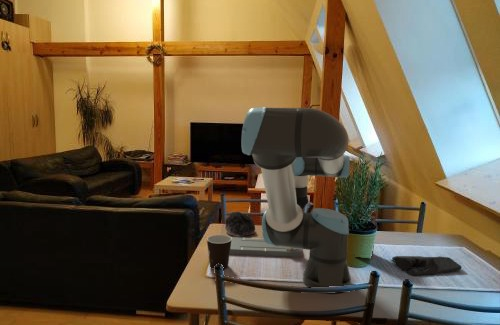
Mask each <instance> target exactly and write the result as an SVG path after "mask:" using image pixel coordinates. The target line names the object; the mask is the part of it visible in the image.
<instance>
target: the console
mask: <svg viewBox="0 0 500 325" xmlns="http://www.w3.org/2000/svg"><path fill="white" fill-rule="evenodd" d="M231 238H232V240H231V248H230V255H238V256H239V255H240V256H241V255H243V256H266V257H267V256H268V257H289V258H290V257H292V258H303V249H299V248H291V250H286V247H282V246H274V245H270V244H268V243H266V242H265V240H264V238H256V237H246V236H243V237H235V236H233V237H231Z"/></svg>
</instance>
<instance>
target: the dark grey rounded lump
mask: <svg viewBox="0 0 500 325" xmlns="http://www.w3.org/2000/svg"><path fill="white" fill-rule="evenodd" d="M225 230H226V233H227V235H228V236H229V235H230V236H233V237H236V238H243V237H246V236H249V235H250V236H251V235H253V234H255V231H256V225H255V222H254V219H253V218H251V216H249V215H248V214H246V213H242V212H240V211H232V212H231V213H230V214H229V216H228V217H227V218H226V220H225Z"/></svg>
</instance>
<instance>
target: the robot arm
mask: <svg viewBox="0 0 500 325" xmlns="http://www.w3.org/2000/svg"><path fill="white" fill-rule="evenodd" d="M240 143H241V145H240V146H241V152H242V153H243V154H244V155H247V156H251V155H252V159H253V162H254V164H255V165H256V167H258V168H260V170H261V175H262V180H263V185H264V190H265V194H266V200H267V204H268V209H266V210H265V211H264V213H263V215H262V218H261V219H262V220H261V229H262V231H261V232H262V237H263V238H262V239H264V240H265V242H266V243H268V244H270V245H274V246H282V247H291V248H299V249H302V250H309V256H308V260H307V262H306V265H305V267H304V270H303V274H302V281H303V283H304V285H306V286H307V287H308V288H309V287H329V286H344V285H351V286H352V277H351V273H350V270H349V266H348V262H347V259H348V258H347V256H348V241H349V240H348V238H349V233H350V230H349V219H348V218H347V216H346V215H345V214H343V213H341V212H339V211H337V210H334V209H330V208H322V207H320V208H319V207H316V208H314V207H315V205H314V203H312V202H310V201H309V199H308V185H309V176H310V177H311V176H314V177H328V178H329V177H330V178H336V179H338V178H339V179H340V178H346V179H347V178H348V177H349V175H350V163H351V162H350V160H351V158H350V156H349V155H345V153H346V151H347V149H348V146H349V134H348V132H347V129H346V128H345V127H344V125H343V124H342V123H341V122H340V121H339V120H338V119H337V118H336V117H334V115H331V114H330V113H327V112H326V111H323V110H320V109H318V108H312V107H267V106H262V107H257V106H256V107H252V108H250V109H249V110H248V111H247V113H246V114H245V117H244V120H243V125H242V129H241V142H240ZM305 207H307V208H306V211H305V212H304V211H303V209H304V208H305Z"/></svg>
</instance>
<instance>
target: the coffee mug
mask: <svg viewBox="0 0 500 325" xmlns="http://www.w3.org/2000/svg"><path fill="white" fill-rule="evenodd" d="M231 240H232V237H231V235H230V236H229V235H228V234H227V235H225V234H214V235H213V234H212V235H210V236H207V238H206V243H207V252H208V253H207V254H208V261H209V262H208V263H209V267H211V268H210V269H212V268H214V266H215V265H216V264H218V263H219V264H222V265H223V267H224V269H223V270H226V269H227V268H228V267H229V261H230V255H231V254H230V248H231Z"/></svg>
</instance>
